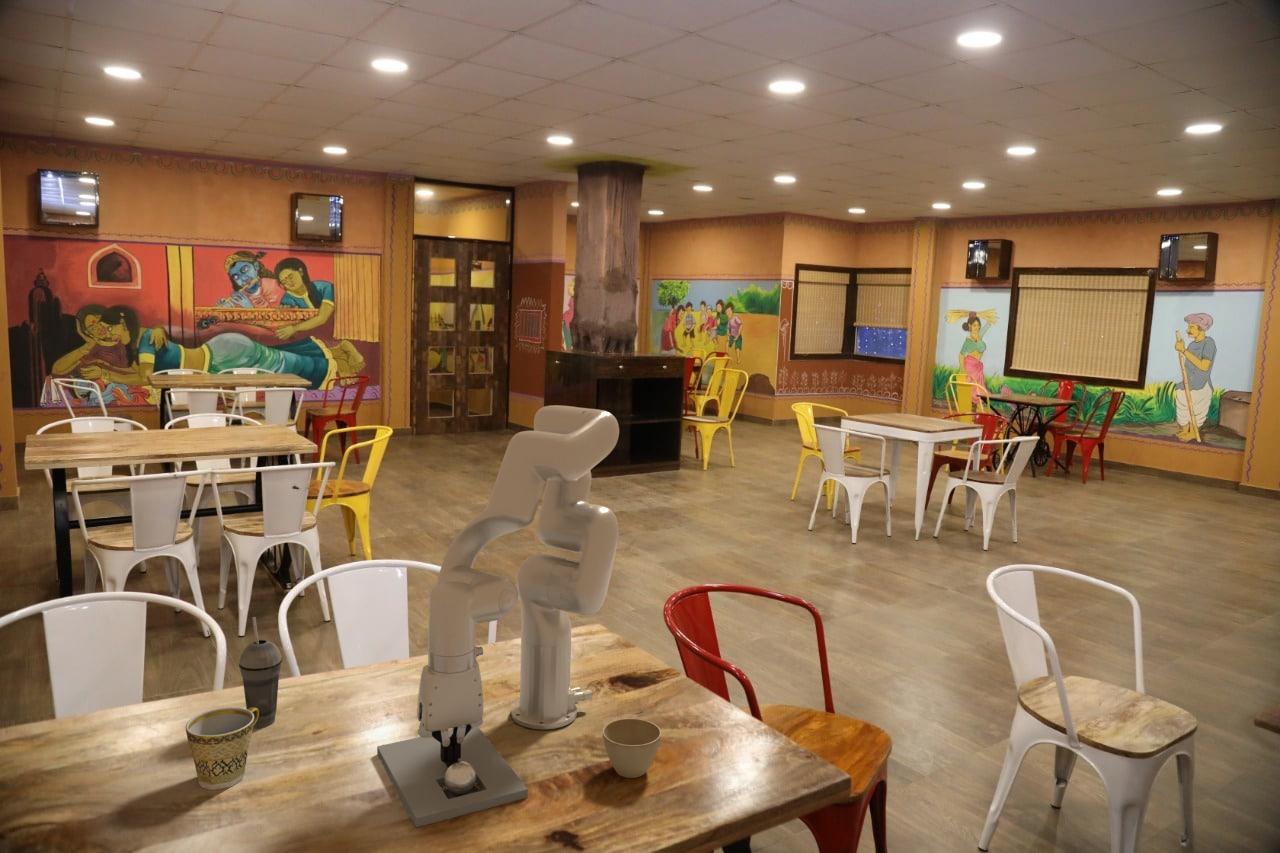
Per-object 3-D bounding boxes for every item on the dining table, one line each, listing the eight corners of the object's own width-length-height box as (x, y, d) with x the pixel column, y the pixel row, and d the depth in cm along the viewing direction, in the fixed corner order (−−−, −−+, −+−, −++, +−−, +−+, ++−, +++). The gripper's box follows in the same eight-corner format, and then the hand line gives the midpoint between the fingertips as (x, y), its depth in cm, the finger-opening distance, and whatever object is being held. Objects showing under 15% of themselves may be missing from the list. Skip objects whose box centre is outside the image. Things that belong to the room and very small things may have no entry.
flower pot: (666, 762, 152) (668, 723, 151) (648, 791, 142) (650, 750, 141) (613, 751, 155) (615, 713, 154) (592, 778, 146) (593, 738, 145)
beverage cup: (267, 733, 156) (265, 627, 154) (231, 728, 158) (228, 622, 155) (291, 715, 163) (289, 613, 161) (256, 710, 165) (254, 609, 162)
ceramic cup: (221, 801, 135) (219, 741, 133) (172, 787, 138) (170, 728, 137) (282, 762, 147) (281, 706, 146) (236, 750, 150) (235, 695, 149)
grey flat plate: (476, 732, 160) (476, 724, 159) (527, 797, 139) (527, 789, 139) (377, 754, 151) (377, 746, 150) (416, 827, 130) (416, 818, 130)
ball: (466, 799, 136) (455, 803, 140) (486, 773, 139) (475, 778, 143) (444, 777, 136) (433, 781, 140) (464, 752, 139) (454, 757, 143)
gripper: (487, 643, 149) (485, 744, 151) (399, 658, 141) (399, 763, 144) (503, 659, 142) (501, 764, 145) (412, 675, 135) (412, 785, 137)
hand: (450, 763), depth 144 cm, fingers closed
